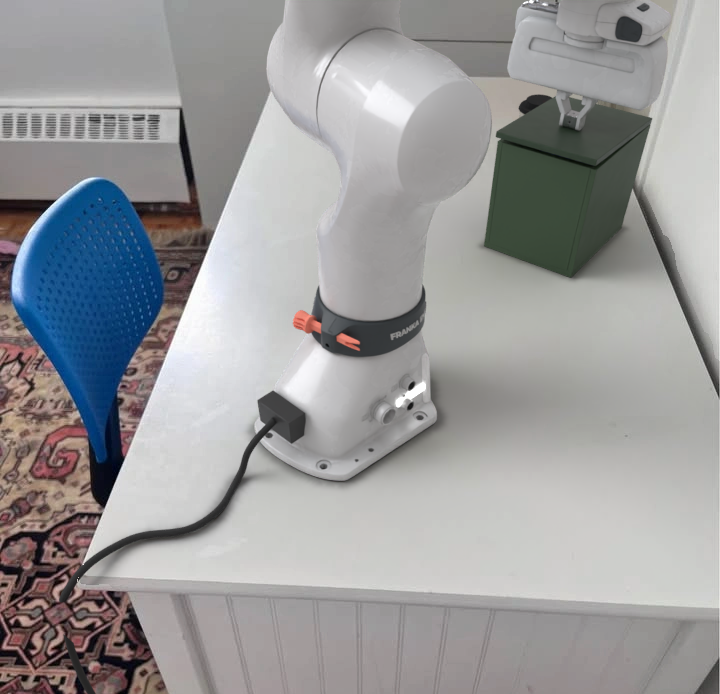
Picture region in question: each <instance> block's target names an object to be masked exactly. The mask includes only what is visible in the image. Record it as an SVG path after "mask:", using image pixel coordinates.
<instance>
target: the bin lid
mask: <svg viewBox="0 0 720 694" xmlns="http://www.w3.org/2000/svg"><path fill="white" fill-rule="evenodd" d="M569 101H570V105H571V110H574V111H577V112H581V110H582V109H583V108H584V107H585V105H582V104H581V103H582V99H578V98H575V97H571V96H569ZM560 116H561V113H560V110H559V107H558V104H557V101H556V95H555V96H553V97H552V99H550V100H548V101H547V102H545V103H543V104H542V105H540V106H538V107H537V108H535V109H533V110H532V111H530V112H528V113H526V114H525V115H523V116H521V117H520V118H519V117H518V118H516V119H515V120H513V121H512V122H510V123H508V124H506V125H505V126H503V127H501V128H499V129H498V130H496V133H495V138H497V139H499V140H500V139H504V140H507V141H510V142H514V143H517V144H521V145H524V146H528V147H531V148H535V149H538V150H541V151H545V152H548V153H552V154H555V155H559V156H562V157H565V158H569V159H572V160H576V161H579V162H583V163H586V164H590V165H593V166H596V165H597V164H599V163H600V162H601V161H603V160H604V159H605V158H607V157H608V156H609V155H611V154H612V153H613V152H614V151H616V150H617V149H618V148H620V147H621V146H622V145H624V144H625V143H626V142H628V141H629V140H630V139H631V138H633V137H634V136H635V135H637V134H638V133H639V132H641V131H642V130H643V129H645V128H646V127H647V126H648V125H650V124H651V125H652V122H653V117H651V116H647V115H643V114H638V113H634V112H630V111H626V110H622V109H618V108H614V107H610V106H607V105H603V104H599V103H596V105H595V106H594V107H593V108H592V109H591V110H590V112H589V113H588V114H587V115H586V119H585V124H584V127H583V128H582V129H581V130H580V131H577V130H573V129H570V128H567V127H562V126H559V122H560ZM651 125H650V126H651Z"/></svg>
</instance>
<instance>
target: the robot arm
mask: <svg viewBox="0 0 720 694" xmlns="http://www.w3.org/2000/svg"><path fill="white" fill-rule="evenodd" d="M401 2H402V0H284V9H283V17H282V21H281V23H280V25H279V26H278V27H277V29H276V30H275V32H274V34H273V36H272V38H271V41H270V44H269V47H268V51H267V57H266V78H267V82H268V86H269V89H270V92H271V93H272V96H273V98H274V99H275V101H276V102H277V103H278V105H279V107H280V109H282V111H283V112H284V113H285V116H287V118H288V119H289V120H290V122H292V125H294V127H295V128H296V129H297V130H298V131H299V132H301V133H302V134H304V135H305V136H306V137H308V138H309V139H311V140H312V141H313V142H315V143H316V144H318V145H319V146H320V147H322V148H323V149H324V150H326V151H327V152H329V153H330V154H331V155H333V157H334V160H335V161H336V164H337V167H338V170H339V171H338V172H339V177H340V183H339V191H338V196H337V200H336V201H334V202H333V203H332V204H331V205H330V206H328V207H327V208H326V209H325V210H324V211H323V213H322V214H321V215H320V217H319V219H318V221H317V225H316V230H315V236H316V237H315V239H316V255H317V272H318V273H317V274H318V286H317V288H316V293H315V296H314V298H313V304H312V311H311V314H309V313H308V312H306V311H305V310H303V309H300V310H298V311H297V312H296V313H295V314H294V315H293V317H294V318H293V319H292V326H293V328H295V329H297V330H300V331H303V332H304V333H305V336H304V337H303V338H302V340H301V341H300V343H299V345H298V347H297V348H296V349H295V351H294V353H293V355H292V356H291V358H290V359H289V362H288V363H287V364H286V366H285V368H284V369H283V371H282V373H281V374H280V376H279V378H278V379H277V381H276V383H275V385H274V389H273V390H271V391H269V392H268V393H266V394H265V395H263V396H261V397H260V398H258V399H257V407H258V414H259V416H258V417H257V418H256V420H255V421H254V426H253V428H254V433H255V435H254V437H252V439H251V440H250V442H249V443H248V445H247V446H246V447H245V448H244V452H243V454H242V456H241V460H240V463H239V466H238V467H239V468H238V470H237V472H236V474H235V476H234V478H233V479H232V482H231V483H230V485H229V487H228V489H227V491H226V493H225V495H224V496H223V497H222V499H221V501H220V502H219V504H217V506H216V507H215V508H214V509H212V510H211V512H209V513H208V514H207V515H205V516H204V517H202V518H201V519H199V520H197V521H196V522H193V523H191V524H188V525H185V526H181V527H176V528H168V529H155V530H148V531H141V532H137V533H134V534H130V535H129V536H125V537H123V538H121V539H119V540H117V541H115V542H113V543H112V544H110V545H108V546H106V547H105V548H103V549H101V550H99V551H97V553H94V554H93V555H92V556H91V557H90V558H88V559H87V560H86V561H84V562H83V564H84V565H83V564H81V565H80V566H79V568H78V569H76V571H75V572H74V573H73V574H72V576H71V577H70V579H69V580H68V581H67V583H66V585H65V586H64V588H63V590H62V591H61V594H60V596H59V599H58V602H59V603H65V602H66V601H67V600H68V599H69V598H70V596H71V594H72V592H73V591H74V589H75V588H76V585H77V584H78V583H79V581H80V580H81V579H82V578H83V576H84V575H85V574H86V573H87V572H88V571H89V570H90V569H91V568H93V567H94V566H95V565H96V564H97V563H99V562H100V561H102V560H103V559H104V558H106V557H108V556H109V555H111V554H113V553H114V552H116V551H118V550H120V549H122V548H124V547H127V546H128V545H130V544H133V543H136V542H139V541H143V540H149V539H150V540H151V539H157V538H169V537H177V536H178V537H179V536H182V535H183V536H184V535H187V534H190V533H193V532H196V531H198V530H200V529H201V528H204V527H205V526H206V525H208V524H209V523H211V522H212V521H214V520H215V519H216V518H218V517H219V515H220V514H221V513H223V511H224V510H225V509H226V507H228V504H229V503H230V501H231V499H232V497H233V496H234V494H235V492H236V491H237V489H238V487H239V485H240V483H241V481H242V479H243V477H244V476H245V473H246V471H247V468H248V464H249V462H250V461H249V460H250V458H251V455H252V454H253V452H254V450H255V448H256V447H257V445H258V444H259V443H261V445H262V446H263V447H264V448H265V449H266V450H267V451H268V452H269V453H271V454H272V455H273V456H274V457H276V458H277V459H279V460H280V461H282V462H284V463H285V464H287V465H289V466H290V467H292V468H294V469H296V470H298V471H300V472H303V473H305V474H307V475H310V476H313V477H316V478H319V479H323V480H329V481H336V482H337V481H340V482H344V481H345V482H346V481H348V480H350V479H351V478H353V477H355V476H356V475H358V474H359V473H361V472H362V471H364V470H366V469H367V468H368V467H370V466H372V465H373V464H374V463H376V462H377V461H379V460H381V459H382V458H384V457H385V456H387V455H388V454H390V453H391V452H393V451H395V450H396V449H397V448H399V447H400V446H402V445H404V444H405V443H406V442H408V441H410V440H411V439H413V438H414V437H416V436H417V435H419V434H420V433H422V432H424V431H425V430H426V429H428V428H429V427H431V426H432V425H434V424H435V423H436V422H437V421H438V412H437V408H436V406H435V404H434V402H433V401H432V398H431V368H430V367H431V365H430V356H429V352H428V350H427V345H426V342H425V339H424V335H423V327H424V325H425V317H426V313H427V301H426V300H427V299H426V297H427V296H426V294H427V293H426V289H425V286H424V284H423V283H424V271H425V270H424V269H425V259H426V249H427V240H428V233H429V229H430V225H431V222H432V220H433V216H434V214H435V213H436V210H437V209H438V207H439V205H440V204H441V203H442V202H443V201H446V200H448V199H450V198H452V197H453V196H455V195H456V194H458V193H459V192H461V191H462V190H463V189H464V188H465V187H466V186H467V185H468V184H469V183H470V182H471V181H472V179H473V178H474V177H475V175H476V174H477V173H478V171H479V170H480V168H481V166H482V164H483V162H484V161H485V158H486V155H487V153H488V151H489V146H490V142H491V138H492V137H491V136H492V128H493V116H492V109H491V105H490V102H489V100H488V98H487V96H486V94H485V93H484V91H483V90H482V89H481V87H479V86H478V84H476V83H475V82H474V80H472V78H470V77H469V75H468V74H467V73H466V72H464V71H463V70H462V68H460V67H459V66H458V65H457V64H456V63H455V62H453V60H451V59H450V58H449V57H448V56H446V55H444V54H442V53H440V52H438V51H436V50H434V49H432V48H430V47H428V46H426V45H424V44H421V43H419V42H417V41H415V40H413V39H411V38H409V37H408V36H405V35H404V33H403V29H402V25H401V18H400V17H401V16H400V13H401V4H402V3H401ZM671 23H672V14H671V12H670V11H668V10H666V9H665V8H663V7H661V6H660V5H658V4H657V3H655V2H654V1H652V0H559V1H553V0H526V1H523V2H522V3H521V4H520V5H519V6H518V7H517V11H516V15H515V23H514V28H515V32H514V37H513V39H512V43H511V46H510V50H509V54H508V55H509V56H508V59H507V60H508V61H507V67H506V68H507V69H506V70H507V72H508V74H509V77H510V78H511V79H513V80H516V81H519V82H524V83H528V84H533V85H536V86H540V87H544V88H548V89H552V90H556V94H555V96H556V101H557V104H558V107H559V110H560V113H561V116H560V122H559V126H562V127H567V128H570V129H573V130H577V131H580V130H581V129H582V128H583V127H584V124H585V119H586V115H587V114H588V113H589V112H590V110H591V109H592V108H593V107H594V106H595V105H596V104H598V102H599V101H600V102H604V103H608V104H613V105H616V106H621V107H625V108H628V109H633V110H636V111H644V110H645V109H647V108H648V107H650V106H651V105H653V104H654V103H655V102H656V101H657V100H658V98H659V97H660V94H661V91H662V87H663V83H664V79H665V76H666V75H665V74H666V70H667V63H668V56H669V48H668V43H667V40H666V39H665V37H664V35H665V34H666V33H667V31H668V30H669V29H670V26H671ZM572 95H576V96H581V97H582V98H581V100H582V103H581V104H582V105H585V107H584V108H583V109H582V110H581V112H577V111H574V110H571V105H570V101H569V97H571V96H572ZM78 577H79V578H78ZM77 579H78V582H77ZM62 635H63V639H64V643H65V646H66V651H67V653H68V657H69V658H70V661H71V664H72V667H73V669H74V672H75V673H76V676H77V678H78V680H79V682H80V684H81V685H82V688H83V689H84V691H85V692H86V694H97V693H96V691H95V690H94V687H93V686H92V684H91V683H90V681H89V678H88V677H87V674H86V673H85V671H84V669H83V666H82V664H81V661H80V658H79V656H78V653H77V650H76V646H75V643H74V641H72V640H71V639H70V638H69V637H68V636H66V635H65V634H64V633H63V634H62Z"/></svg>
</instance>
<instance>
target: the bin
mask: <svg viewBox="0 0 720 694" xmlns="http://www.w3.org/2000/svg"><path fill="white" fill-rule="evenodd" d="M651 125H652V123H651V124H650V125H648V126H647V127H646V128H645V129H643V130H642V131H641V132H639V133H638V134H637V135H635V136H634V137H633V138H631V139H630V140H629V141H628V142H626V143H625V144H624V145H622V146H621V147H620V148H618V149H617V150H616V151H614V152H613V153H612V154H611V155H609V156H608V157H607V158H605V159H604V160H603V161H601V162H600V163H599V164H597V165H596V166H594V167H593V166H591V165H587V164H584V163H580V162H577V161H574V160H570V159H567V158H563V157H560V156H556V155H553V154H550V153H546V152H543V151H539V150H538V149H535V148H531V147H528V146H524V145H521V144H517V143H514V142H510V141H507V140H504V139H500V138H499V140H497V143H496V144H497V145H496V152H495V160H494V168H493V175H492V182H491V189H490V197H489V204H488V211H487V212H488V213H487V219H486V228H485V235H484V242H483V247H485V248H488V249H490V250H494V251H496V252H499V253H502V254H504V255H507V256H509V257H513V258H515V259H518V260H521V261H524V262H527V263H529V264H532V265H535V266H537V267H540V268H542V269H545V270H548V271H551V272H554V273H555V274H560V275H563V276H565V277H568V278H572V277H573V276H574V275H575V274H576V273H578V272H579V270H580V269H581V268H582V267H583V266H585V265H586V263H588V262H589V261H590V260H591V259H592V258H593V257H594V256H595V255H596V254H597V253H598V252H599V251H600V250H601V249H602V248H603V247H604V246H605V245H606V244H607V243H608V242H609V241H610V240H611V239H612V238H613V237H614V236H615V235H616V234H617V233H618V232H619V231H620V230H621V229H622V227H623V224H624V220H625V217H626V214H627V209H628V206H629V204H630V199H631V196H632V192H633V189H634V188H633V187H634V185H635V182H636V177H637V175H638V171H639V167H640V164H641V161H642V157H643V153H644V149H645V146H646V143H647V140H648V135H649V132H650V129H651Z"/></svg>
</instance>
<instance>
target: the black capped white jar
mask: <svg viewBox="0 0 720 694" xmlns="http://www.w3.org/2000/svg"><path fill="white" fill-rule="evenodd" d="M552 98H553V97H552V96H549V95H548V94H547V95H546V94H531V95H529V96H526V99H524V100H522V101H521V102H520V103H519V106H518V107H517V108H518V111H519V115H518V118H520V117H521V116H523V115H525V114H526V113H528V112H530V111H532V110H533V109H535V108H537V107H538V106H540V105H542V104H543V103H545V102H547V101H548V100H550V99H552Z"/></svg>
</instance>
